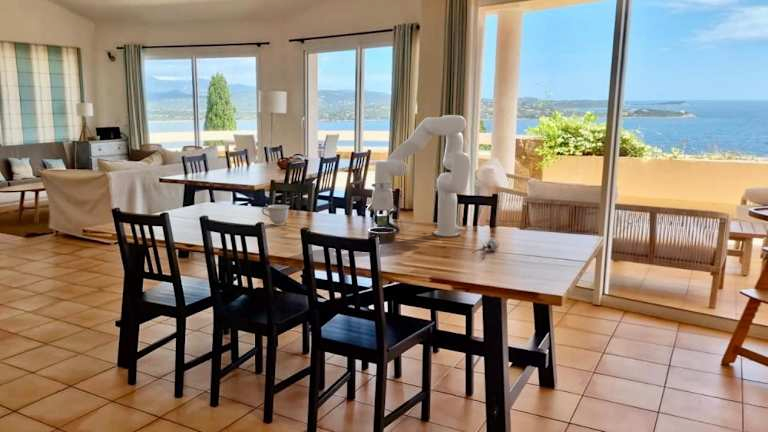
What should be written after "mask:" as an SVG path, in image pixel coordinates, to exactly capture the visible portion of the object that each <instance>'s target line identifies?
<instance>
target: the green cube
mask: <svg viewBox="0 0 768 432" xmlns="http://www.w3.org/2000/svg"><path fill="white" fill-rule="evenodd" d="M377 225H387V213H386V214H385V213H383V214H381V213H377V224H376V226H377Z"/></svg>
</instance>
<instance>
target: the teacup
mask: <svg viewBox="0 0 768 432" xmlns="http://www.w3.org/2000/svg"><path fill="white" fill-rule="evenodd" d="M289 208H290V205H288V204H269V205H267V206H263V207H262V208H261V213H262V215H264V216H267V217H268V218H269V219H270V222H272V223H273V225H274V226H284V225H285V222H286V221H287V220H288V215H289ZM264 210H266V212H268V213H265V211H264Z"/></svg>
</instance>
